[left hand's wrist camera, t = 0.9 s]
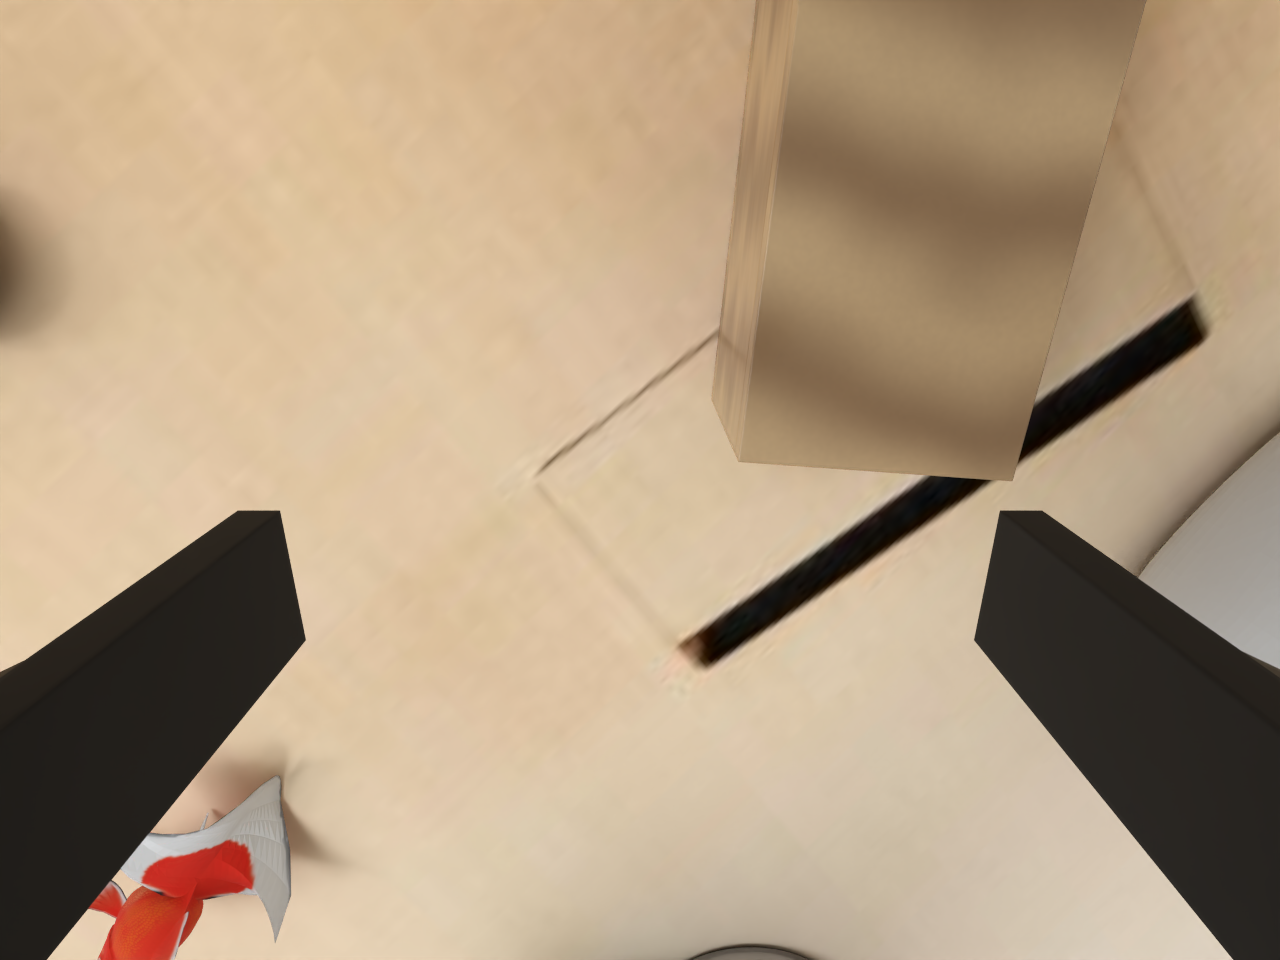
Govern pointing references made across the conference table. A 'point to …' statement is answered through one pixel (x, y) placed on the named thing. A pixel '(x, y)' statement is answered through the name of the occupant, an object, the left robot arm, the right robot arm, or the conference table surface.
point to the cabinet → (909, 225)
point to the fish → (199, 877)
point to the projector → (1231, 559)
